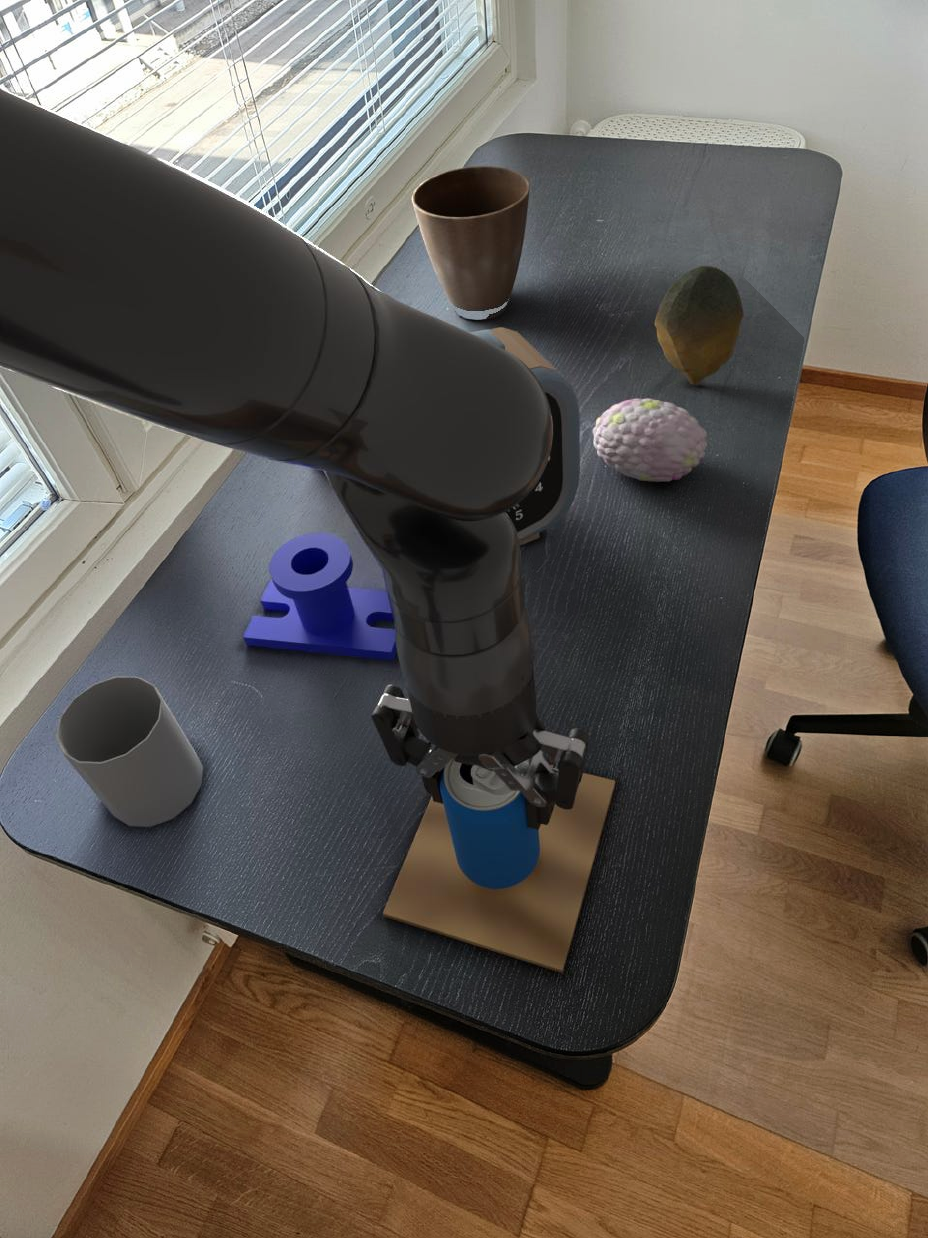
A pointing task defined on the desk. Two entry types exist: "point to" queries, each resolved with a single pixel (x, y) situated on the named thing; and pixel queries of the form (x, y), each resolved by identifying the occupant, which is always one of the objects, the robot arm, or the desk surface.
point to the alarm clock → (564, 458)
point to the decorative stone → (699, 322)
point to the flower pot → (474, 232)
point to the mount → (321, 603)
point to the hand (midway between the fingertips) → (490, 804)
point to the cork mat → (511, 917)
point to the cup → (130, 750)
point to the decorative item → (649, 440)
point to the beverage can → (488, 826)
